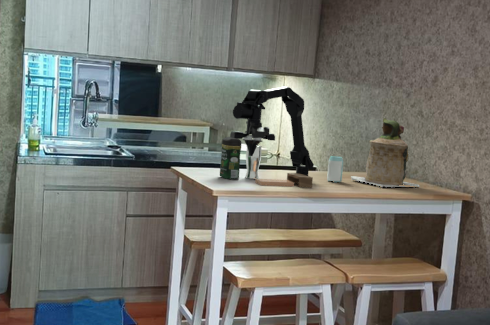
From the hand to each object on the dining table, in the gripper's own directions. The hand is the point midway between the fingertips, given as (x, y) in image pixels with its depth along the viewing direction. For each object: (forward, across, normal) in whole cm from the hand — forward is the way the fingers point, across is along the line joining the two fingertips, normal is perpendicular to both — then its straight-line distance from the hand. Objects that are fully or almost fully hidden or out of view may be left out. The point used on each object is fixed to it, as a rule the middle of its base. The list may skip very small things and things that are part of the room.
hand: (251, 156), depth 286 cm
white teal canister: (+12, +50, +15) cm, 53 cm away
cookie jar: (+12, +75, +10) cm, 77 cm away
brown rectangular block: (+12, +24, 0) cm, 27 cm away
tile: (+12, +12, 0) cm, 17 cm away
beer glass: (+12, +9, +18) cm, 24 cm away
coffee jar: (+12, -3, +16) cm, 21 cm away
